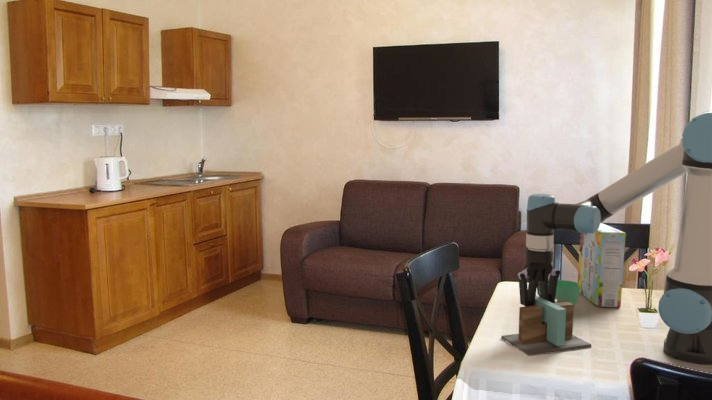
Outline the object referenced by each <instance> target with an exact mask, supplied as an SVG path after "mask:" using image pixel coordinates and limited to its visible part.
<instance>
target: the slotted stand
mask: <svg viewBox="0 0 712 400" xmlns="http://www.w3.org/2000/svg"><path fill="white" fill-rule="evenodd" d="M554 304H556V305H558V306H560V307H562V308H565V309H566V324H565V345H558V346H556V345H555V344H553V343H551V342H549V341H548V340H547V322H545V321H544V322H542V307H540V306H538V305H535V306H519V311H518V312H519V314H518V315H519V316H518V333H515V334H514V333H513V334H503V335H501V336H500V337H501V338H502V340H503V339H504V340H503V341H505V342H506V341H507V342H506V343H508V344H509V343H510V345H511V346H512V347H514V346H515V348H516V349H517V348H518V351H521V352H522V353H524V354H526V355H527V356H535V355H541V354H550V353H558V352H565V351H574V350H579V349H588V348H592V343H590V342H588V341H586V340H584V339H582V338H580V337H577V336H576V335H575V334H573V331H574V330H573V329H574V310H575V308H574V304H572V303H570V302H562V303H554ZM573 309H574V310H573ZM501 338H500V339H501Z"/></svg>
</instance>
